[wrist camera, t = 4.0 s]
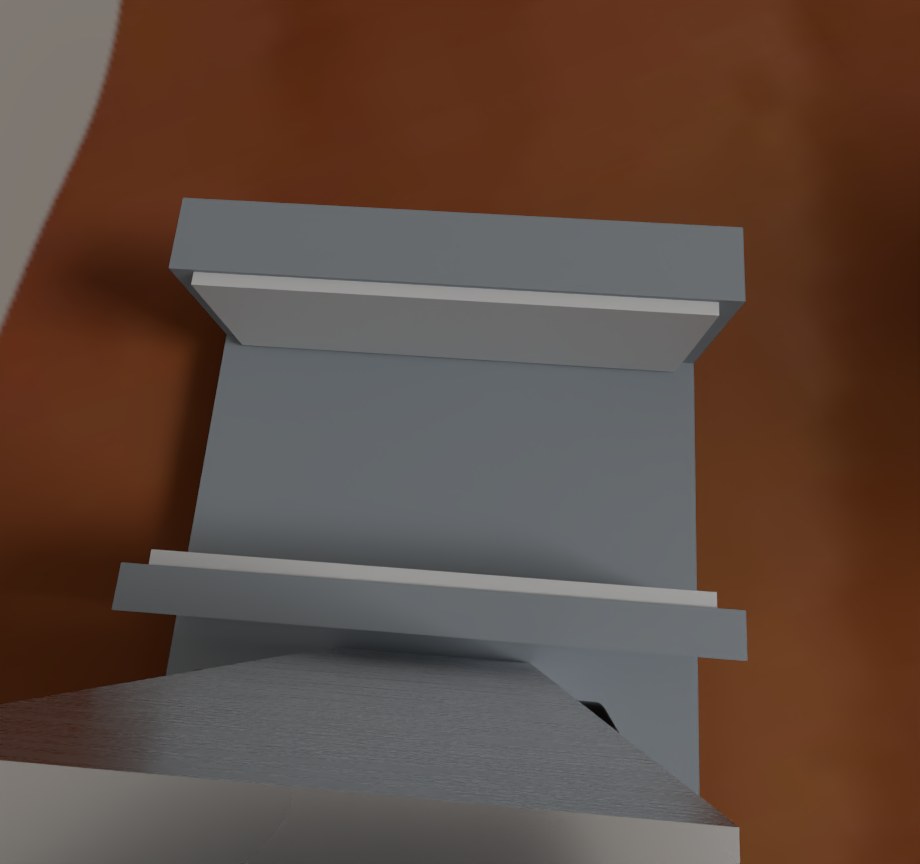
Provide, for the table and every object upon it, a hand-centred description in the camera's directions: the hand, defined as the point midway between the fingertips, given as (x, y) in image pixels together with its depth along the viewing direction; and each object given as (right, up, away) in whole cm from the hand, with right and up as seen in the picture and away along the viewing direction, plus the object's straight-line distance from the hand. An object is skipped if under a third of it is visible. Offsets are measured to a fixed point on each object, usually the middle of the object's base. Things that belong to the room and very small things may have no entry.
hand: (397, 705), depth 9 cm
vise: (0, -1, +8) cm, 8 cm away
